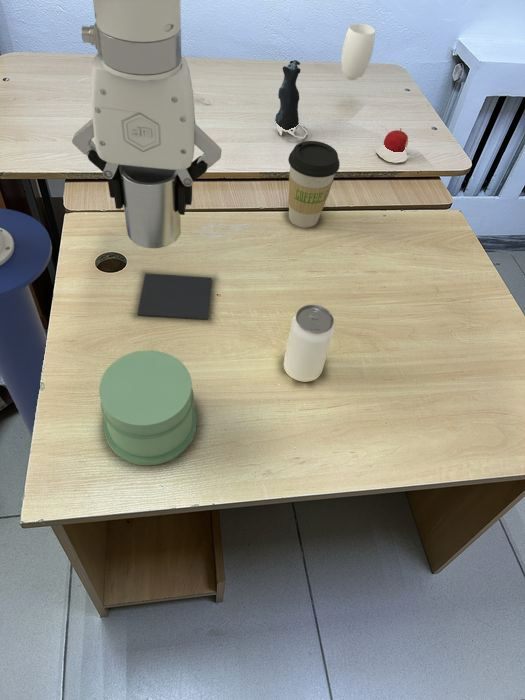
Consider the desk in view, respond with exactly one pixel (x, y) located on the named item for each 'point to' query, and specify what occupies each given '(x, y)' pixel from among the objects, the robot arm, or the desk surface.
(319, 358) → the can
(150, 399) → the green short cylinder
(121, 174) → the silver cup
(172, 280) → the mat
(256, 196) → the desk surface
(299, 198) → the coffee cup
